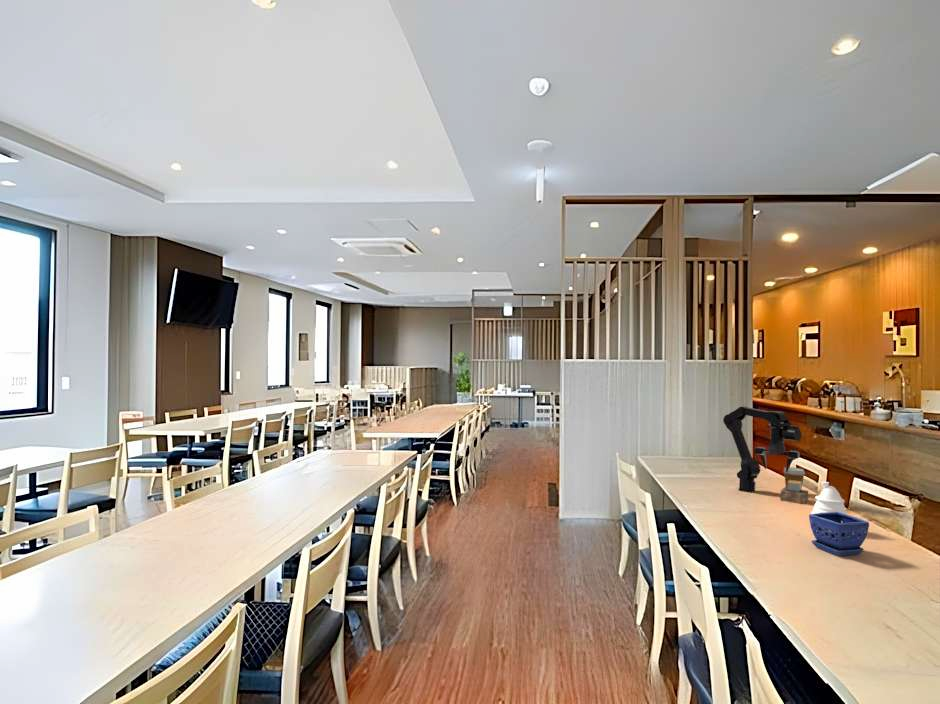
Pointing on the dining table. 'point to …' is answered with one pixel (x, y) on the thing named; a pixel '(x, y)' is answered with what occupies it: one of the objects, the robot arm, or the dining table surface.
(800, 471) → the disposable coffee cup
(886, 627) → the dining table surface
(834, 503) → the honey pot
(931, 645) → the dining table surface
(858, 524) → the flower pot
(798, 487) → the steel peg
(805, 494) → the socket block
